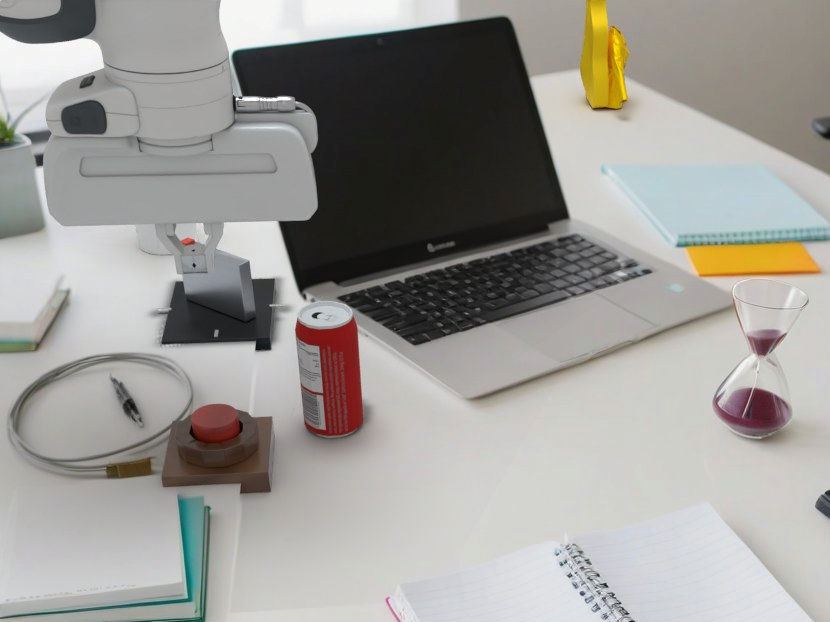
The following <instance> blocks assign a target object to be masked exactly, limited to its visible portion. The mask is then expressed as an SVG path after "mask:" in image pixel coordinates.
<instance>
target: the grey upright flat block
mask: <svg viewBox="0 0 830 622" xmlns="http://www.w3.org/2000/svg"><path fill="white" fill-rule="evenodd" d="M181 242H182V244H183V245H184V246H204V245H205V243H201V242H199V241H198V242H196V241H195V240H194V239H191V238H186V239H183V240H181ZM214 260H215V271H214V273H204V274H181V276H182V281H183V283H184V289H185V296H186V299H187V300H190V301H193V302H195V303H198V304H200V305H203V306H206V307H208V308H211V309H213V310H216V311H219V312H221V313H224V314H226V315H229V316H232V317H234V318H237V319H240V320H242V321H245V322H247V321H249V320H250V319H252V318H254V317H256V311H255V302H254V294H253V286H252V279H253V278H252V272H251V271H252V269H251V263H250V262H251V261H250V260H249V259H247V258H244V257H241V256H238V255H235V254H232V253H229V252H227V251H224V250H222V249H218V248H216V249H215V251H214Z"/></svg>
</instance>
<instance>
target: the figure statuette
mask: <svg viewBox="0 0 830 622" xmlns="http://www.w3.org/2000/svg"><path fill="white" fill-rule="evenodd" d="M583 32H584V33H583V42H582V48H581V55H580V62H579V73H580V78H581V83H582V85H583V90H584V93H585V98H586V99H587V101H588V103H589V105H590V107H591V108H592V109H596V108H597V109H598V108H610V109H616V110H617V109H622V108H623V103H626V102H628V101H629V99H628V94H627V93H628V91H627V88H626V87H627V86H626V78H625V68H626V63H627V61H628V58H629V57H630V56H629V55H630V53H631V51H630V50H629V49H628V48H627V45H628V44H627V43H628V41H627V40H626V39H625V38H624V34H622V31H621V30H620V29H618V27H616V26H615V25H611V26H609V19H608V12H607V0H586V1H585V20H584V31H583Z"/></svg>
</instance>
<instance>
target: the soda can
mask: <svg viewBox="0 0 830 622" xmlns="http://www.w3.org/2000/svg"><path fill="white" fill-rule="evenodd" d="M353 312H354V311H353V308H351V307H349V306H348V305H347V304H345V303H341V302H339V301H334V300H321V301H315V302H310V303H308V304H305V305H303V306H302V307H301V308H300V309H299V310H298V311H297V314H296V315H297V318H296V323H295V328H294V333H295V344H296V353H297V362H298V372H299V374H298V375H299V384H300V393H301V403H302V414H303V423H304V426H305V427H306V429H307V430H309V431H310V432H312V433H313V434H315V435H316V436H317V437H322V438H326V439H337V438H342V437H346V436H349V435H351V434H353V433H354V432H356V431H357V430H358V429H359V428H360V427H361V426H362V425H363V422H364V409H363V408H364V407H363V396H362V395H363V392H362V377H361V363H360V362H361V360H360V359H361V358H360V347H359V343H360V342H359V328H358V324H357V321H356V319H355V316H354V313H353Z"/></svg>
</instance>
